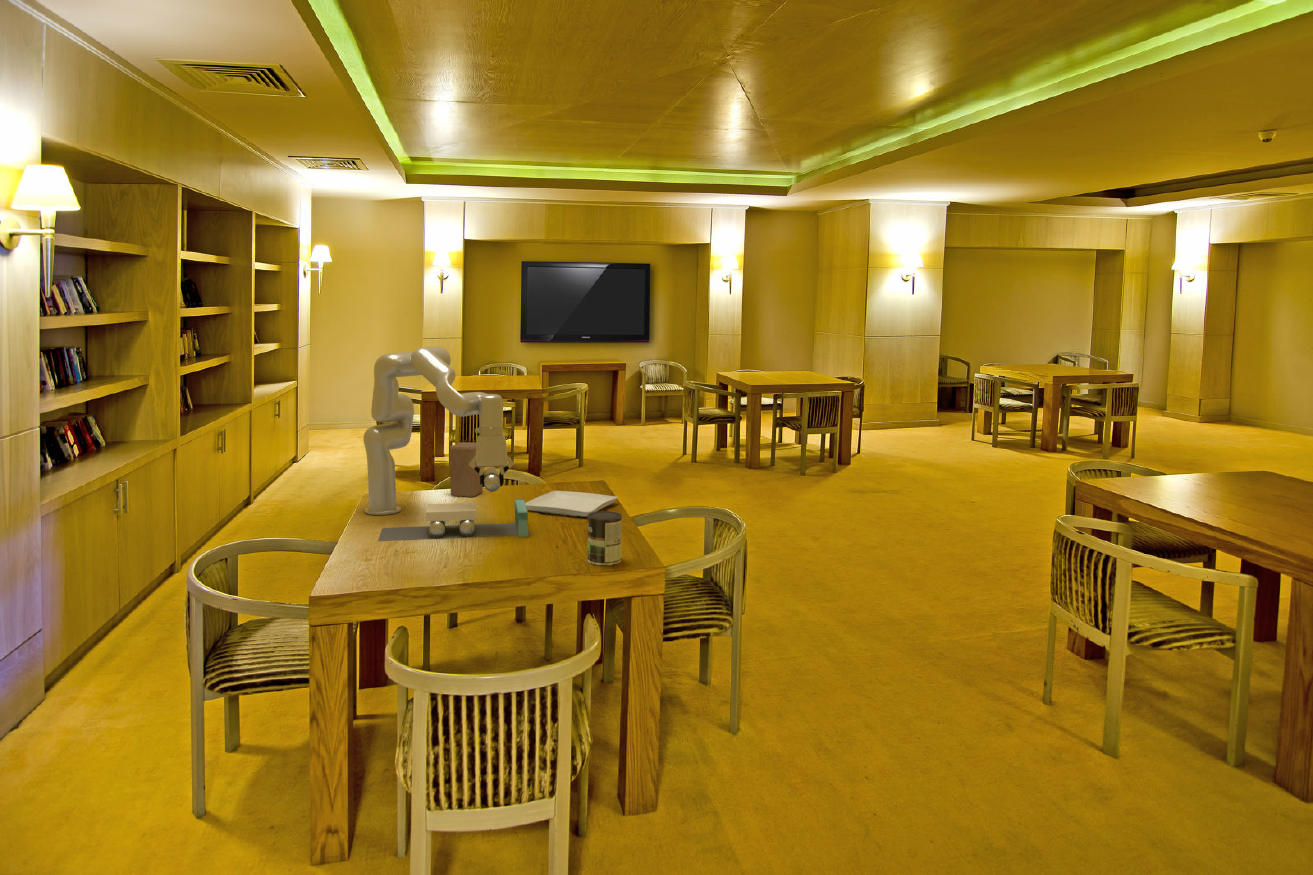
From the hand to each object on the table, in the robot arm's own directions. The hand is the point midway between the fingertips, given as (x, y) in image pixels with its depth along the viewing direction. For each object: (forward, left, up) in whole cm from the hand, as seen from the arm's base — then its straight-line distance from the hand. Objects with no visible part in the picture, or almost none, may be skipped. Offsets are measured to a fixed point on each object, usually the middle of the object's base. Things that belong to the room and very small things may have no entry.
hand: (491, 485), depth 307 cm
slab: (0, -13, -10) cm, 17 cm away
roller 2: (0, -8, -15) cm, 17 cm away
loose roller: (0, 0, 0) cm, 0 cm away
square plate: (-30, +30, -16) cm, 45 cm away
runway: (0, -12, -16) cm, 20 cm away
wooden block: (-60, -8, -16) cm, 63 cm away
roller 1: (0, -18, -15) cm, 24 cm away
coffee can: (+40, +32, -16) cm, 53 cm away
